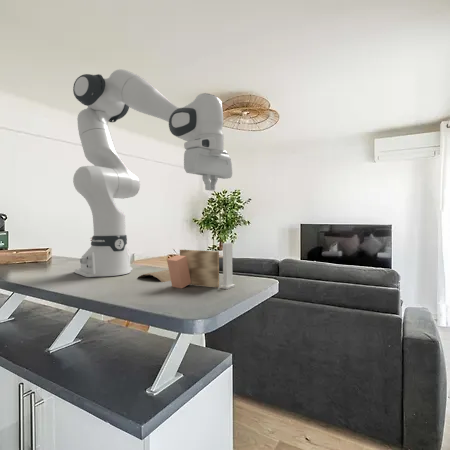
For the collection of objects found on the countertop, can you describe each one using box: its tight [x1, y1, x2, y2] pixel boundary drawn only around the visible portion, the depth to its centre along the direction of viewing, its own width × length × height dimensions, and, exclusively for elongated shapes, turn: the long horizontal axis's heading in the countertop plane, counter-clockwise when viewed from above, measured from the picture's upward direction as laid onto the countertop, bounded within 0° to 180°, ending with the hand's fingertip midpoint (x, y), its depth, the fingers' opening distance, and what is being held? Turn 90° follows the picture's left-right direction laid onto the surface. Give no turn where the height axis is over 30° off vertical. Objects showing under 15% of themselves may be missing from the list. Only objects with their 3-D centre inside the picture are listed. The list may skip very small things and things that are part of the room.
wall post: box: [220, 242, 236, 290], centre depth 91 cm, size 2×4×13 cm, turn 143°
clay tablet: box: [137, 269, 171, 283], centre depth 107 cm, size 14×10×3 cm
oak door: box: [179, 249, 220, 288], centre depth 93 cm, size 13×2×10 cm, turn 64°
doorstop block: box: [166, 254, 191, 289], centre depth 92 cm, size 4×4×8 cm
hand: (210, 190), depth 99 cm, fingers closed
